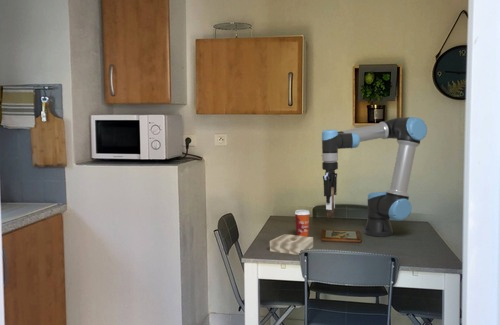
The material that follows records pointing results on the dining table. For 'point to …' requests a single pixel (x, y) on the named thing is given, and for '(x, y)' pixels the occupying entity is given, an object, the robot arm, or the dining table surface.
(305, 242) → the maple block
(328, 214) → the walnut peg
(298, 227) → the coffee cup
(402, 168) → the robot arm
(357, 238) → the dining table surface
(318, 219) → the dining table surface
